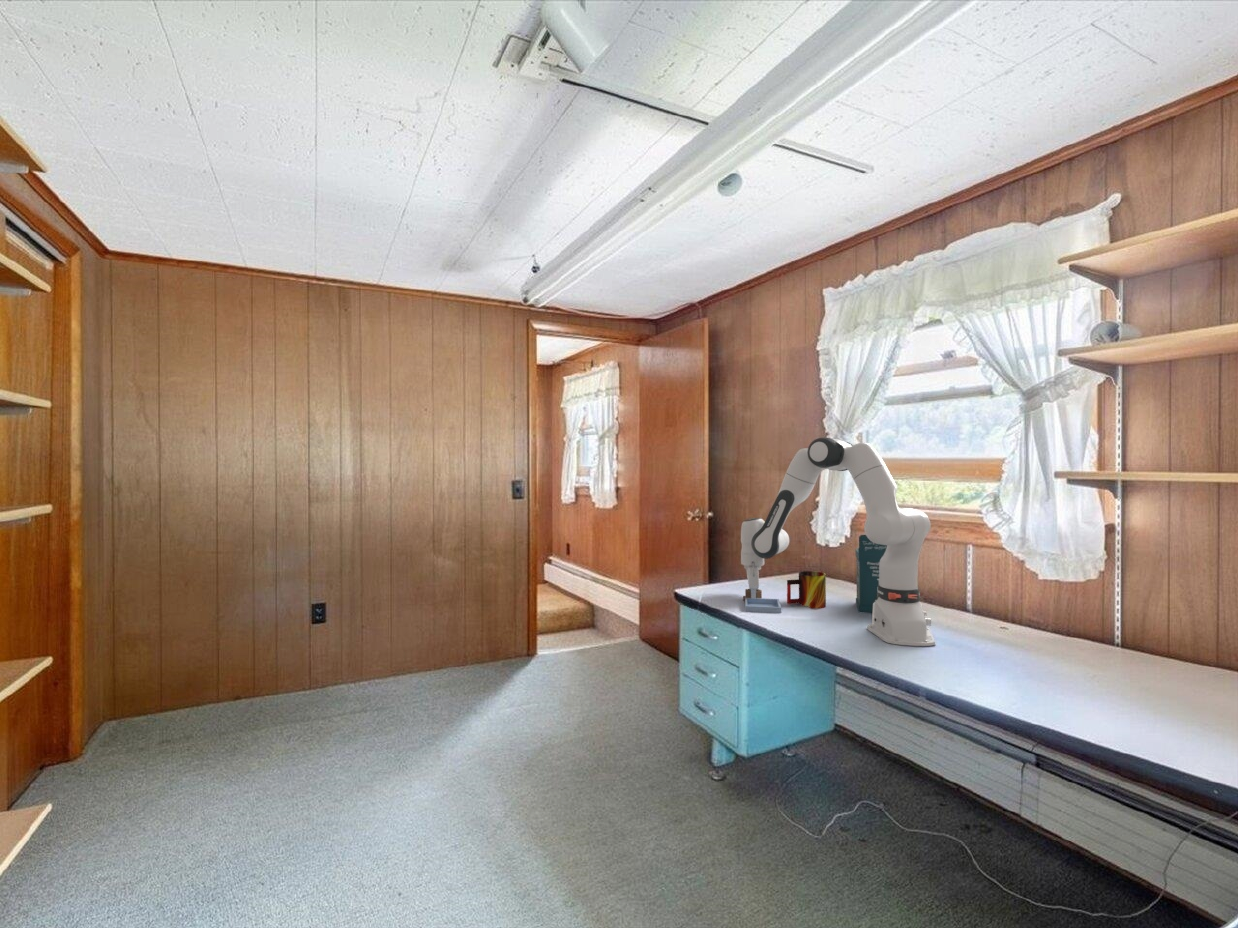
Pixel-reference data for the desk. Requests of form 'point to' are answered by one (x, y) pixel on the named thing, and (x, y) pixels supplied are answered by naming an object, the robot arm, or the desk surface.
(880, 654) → the desk surface
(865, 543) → the donation box
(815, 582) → the mug
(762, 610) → the tray
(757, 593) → the ring
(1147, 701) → the desk surface
